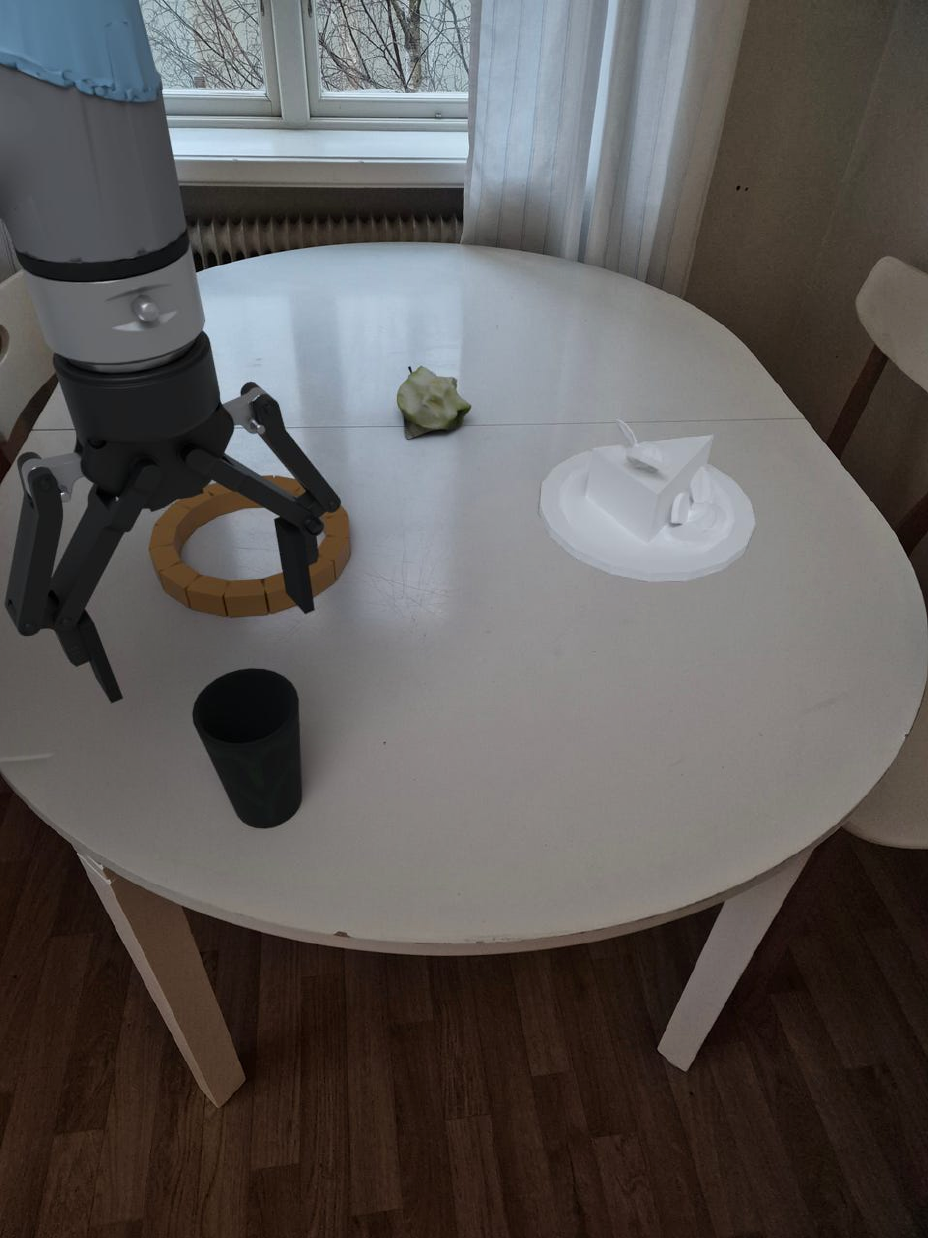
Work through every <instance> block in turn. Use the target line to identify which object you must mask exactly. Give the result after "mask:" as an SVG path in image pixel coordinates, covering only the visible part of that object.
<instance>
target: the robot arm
mask: <svg viewBox="0 0 928 1238" xmlns="http://www.w3.org/2000/svg"><path fill="white" fill-rule="evenodd" d="M161 75H162V74H160V72H159V71H158V70H157V68H156V64H155V61H154V56H153V53H152V48H151V44H150V40H149V36H148V31H147V28H146V23H145V20H144V16H143V11H142V8H141V4H140V0H0V219H1V220H2V222H3V224H4V226H5V228H6V230H7V232H8V234H9V237H10V239H11V244H12V247H13V250H14V253H15V255H16V259H17V261H18V263H19V265H20V269H21V271H22V274H23V277H24V280H25V283H26V287H27V290H28V293H29V296H30V299H31V302H32V305H33V308H34V311H35V314H36V317H37V320H38V325H39V327H40V330H41V333H42V335H43V340H44V342H45V345H46V346H48V348H49V349H50V350H51V351H52V352H53V354H52V355H53V356H52V365H53V368H54V371H55V374H56V377H57V380H58V383H59V386H60V389H61V392H62V395H63V398H64V401H65V404H66V407H67V410H68V413H69V416H70V419H71V422H72V425H73V429H74V432H75V445H74V448H73V452H69V453H64V454H60V455H56V456H55V455H54V456H50V457H45V458H43V457H41V456H40V454H38V453H37V452H34V451H26V452H24V453H21V455H19V456H18V458H17V460H16V466H17V470H18V474H19V478H20V482H21V486H22V490H23V498H22V502H21V503H22V504H21V509H20V515H19V521H18V525H17V532H16V536H15V544H14V548H13V554H12V560H11V565H10V571H9V577H8V582H7V587H6V593H5V600H4V608H5V610H6V612H7V614H8V615H9V617H10V619H11V621H12V623H13V624H14V627H15V628H16V630H17V632H18V633H19V635H21V636H23V637H32V636H35V635H38V633H39V632H40V631H41V630H46V629H47V630H52V631H54V633H55V636H56V638H57V640H58V642H59V645H60V647H61V649H62V651H63V653H64V654H65V656H66V658H67V659H68V661H69V663H70V664H71V665H73V666H74V667H76V668H77V667H79V666H83V665H85V664H87V663H89V665H90V668H91V670H92V673H93V675H94V677H95V679H96V681H97V683H98V684H99V685H100V688H101V690H102V691H103V692H104V694H105V697H107V699H108V701H109V702H110V704H114V703H116V702H118V701H121V700H123V699H124V696H123V694H122V691H121V688H120V685H119V683H118V681H117V678H116V676H115V674H114V671H113V668H112V666H111V663H110V660H109V658H108V654H107V653H106V650H105V648H104V644H103V643H102V640H101V637H100V634H99V632H98V629H97V627H96V623H95V622H94V621H93V619H92V617H91V616H90V614H89V612H88V611H87V610H86V607H87V605H88V604H89V601H90V600H91V597H92V596H93V594H94V592H95V590H96V589H97V586H98V584H99V582H100V581H101V578H102V577H103V575H104V573H105V571H106V569H107V567H108V565H109V563H110V561H111V560H112V557H113V555H114V554H115V552H116V549H117V547H118V546H119V543H120V542H121V539H122V538H123V536H124V534H125V533H130V532H131V531H132V530H133V528H134V527H135V524H136V522H137V521H138V519H139V517H140V515H141V513H142V510H149V511H150V512H151V513H154V512H157V511H158V510H161V509H165V508H166V507H168V506H170V505H172V504H174V503H175V502H176V501H178V500H180V499H185V498H192V497H195V496H197V495H200V494H203V493H204V492H203V489H205V487H206V486H207V485H210V483H211V482H212V481H213V482H214V483H219V484H220V485H222V486H224V487H226V488H227V489H229V490H231V491H233V492H238V493H239V494H241V495H243V496H245V497H246V498H248V499H250V500H252V501H253V502H255V503H257V504H259V505H260V506H262V507H261V508H264V509H266V510H267V511H269V512H271V513H273V514H275V515H276V516H278V517H276V518H273V523H274V529H275V534H276V535H275V536H276V542H277V546H278V551H279V560H280V565H281V570H282V571H281V572H283V577H284V583H285V589H286V593H287V595H288V596H289V597H290V598H291V599H292V600H293V601H294V602H295V603H296V606H297V607H298V608H299V609H300V610H301V612H302V613H303V614H304V615H307V614H309V613H312V612H314V611H315V601H314V598H313V593H312V586H311V579H310V571H309V566H310V565H312V564H314V563H316V562H317V561H318V557H319V551H318V547H319V545H318V536H320V535H321V534H322V533H323V532H324V531H323V529H324V524H323V522H322V521H321V520H320V519H319V517H321V516H322V515H323V514H324V513H326V512H328V513H333V512H335V511H337V510H338V509H339V508H340V505H341V506H342V499H341V498H340V497H339V495H338V494H337V493H336V491H335V490H334V489H333V488H332V486H331V485H330V484H329V483H328V481H327V479H325V478H324V476H323V475H322V473H321V472H320V471H319V470H318V469H317V468H316V466H315V465H314V464H313V463H312V461H311V460H310V458H309V457H308V456H307V455H306V453H305V452H304V451H303V450H302V448H301V447H300V446H299V445H298V443H297V442H296V441H295V439H294V438H293V437H292V435H290V433H289V432H288V431H287V429H286V426H285V422H284V417H283V414H282V411H281V407H280V404H279V402H278V400H276V399H275V398H274V397H273V396H272V395H271V394H269V393H268V392H267V391H266V390H265V389H263V388H262V387H261V386H260V385H258V384H257V383H256V382H255V381H248V382H246V383H244V384H243V385H242V386H241V388H240V392H239V394H240V396H238V397H236V398H233V399H231V400H229V401H226V402H224V403H222V401H221V390H220V385H219V380H218V375H217V370H216V364H215V360H214V355H213V350H212V349H213V348H212V344H211V340H210V337H209V336H208V334H207V333H206V332H205V331H204V326H205V323H206V317H205V312H204V311H205V310H204V307H203V301H202V295H201V292H200V286H199V280H198V276H197V272H196V265H195V261H194V260H195V259H194V255H193V250H192V245H191V242H190V235H189V231H188V227H187V222H186V216H185V211H184V206H183V201H182V196H181V195H182V194H181V189H180V184H179V178H178V173H177V168H176V162H175V161H176V160H175V156H174V151H173V145H172V140H171V134H170V129H169V123H168V118H167V111H166V106H165V99H164V93H163V90H164V86H163V80H162V76H161ZM235 426H241V427H242V428H243V429H244V430H246V431H247V432H248V433H249V434H252V435H258V436H259V437H260V438H261V439H262V441H263V442H264V444H266V446H267V447H268V448H269V449H270V451H271V452H272V453H273V454H274V455H275V456H276V458H277V459H278V460H279V461H280V462H281V464H282V465H283V466H284V468H285V469H286V470H287V471H288V472H289V473H290V474H291V475H292V477H293V479H296V480H297V481H298V483H299V484H300V485H301V486H302V487H303V489H304V490H305V491H306V492H304V493H303V494H302V495H300V496H299V497H298V498H297V497H295V496H294V495H292V494H290V493H289V492H287V491H285V490H284V489H282V488H280V487H279V486H277V485H276V484H274V483H272V482H271V481H269V480H267V479H266V478H264V477H262V476H263V475H261V474H259V473H258V472H256V471H254V470H252V469H251V468H250V467H248V466H246V465H245V464H243V463H242V462H240V461H238V460H236V459H234V458H233V457H232V456H230V455H228V454H227V453H226V450H227V448H228V446H229V444H230V442H231V440H232V437H233V434H234V432H235ZM81 478H85V479H86V480H88V481H89V482H91V483H92V485H91V487H90V489H89V491H88V495H87V506H86V509H85V511H84V512H83V514H82V516H81V518H80V520H79V521H78V524H77V526H76V528H75V530H74V532H73V535H72V536H71V538H70V540H69V542H68V544H67V546H66V548H65V550H64V552H63V554H62V556H61V558H60V561H59V562H58V564H57V566H56V568H55V570H54V567H55V562H56V557H57V553H58V548H59V543H60V538H61V533H62V528H63V523H64V522H63V521H64V505H63V503H68V502H70V500H71V498H72V494H73V489H74V488H73V487H74V485H75V483H76V482H77V481H78V480H79V479H81Z"/></svg>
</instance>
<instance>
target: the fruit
mask: <svg viewBox="0 0 928 1238" xmlns="http://www.w3.org/2000/svg"><path fill="white" fill-rule="evenodd" d="M407 369H408V371H409V374H408V375H407V378H406V380H405V381H404V382H403V383H402V384H401V385H399V388H398V390H397V393H396V404H397V407H398V409H399V411H400V412H401V414H402V418H403V430H404V431H403V432H404V433H403V434H404V438H405V440H408V441H409V440H411V439H413V438H415V437H418V436H421V435H423V434H426V433H428V432H431V431H437V430H446V431H450V430H453V429H457V428H460V427H461V426H462V425H463V423H464V418H465V416H466V415H468V413H470V411H471V410H472V404H470V403H468V401H466V400H465V399H463V398H462V397H461V395H460V394H459V393H458V390H457V388H458V379H457V378H455V377H453V376H439V375H438V376H437V374H436V372H434V371H431V370H430V369H428V367H426V366H423V365H420V366H419V367H417V369H416V370H414V371H413V370H412V366H411V365H409V366H407Z"/></svg>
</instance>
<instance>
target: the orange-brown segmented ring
mask: <svg viewBox="0 0 928 1238" xmlns="http://www.w3.org/2000/svg"><path fill="white" fill-rule="evenodd" d="M261 476H262V477H264V478H266V479H267V480H269V481H271V482H272V483H274V484H276V485H277V486H279V487H280V488H282V489H284V490H285V491H287V492H289V493H290V494H292V495H294V496H295V497H297V498H298V497H299V496H300V495H302V494H303V493H304V492H306V491H305V490H304V489H303V487H302V486H301V485H300V484H299V483H298V481H297V480H296V479H295V478H294V477H293V478H292V477H288V476H282V475H277V474H276V475H273V474H268V475H267V474H265V475H261ZM203 492H204V493H203V494H200V495H197V496H195V497H192V498H185V499H178V500H176V501H174V503H171V504H170V505H169V507H168V508H167V509H166V510H165V511H164V512H163V513H162V515H161V516H160V517H159V518H158V519H157V520H156V521H155V523H154V525H153V526H152V531H151V535H150V539H149V542H148V543H149V544H148V553H149V557H150V560H151V563H152V568H153V570H154V572H155V573H156V574H155V575H156V577H157V579H158V581H159V583H160V585H161V587H162V589H163V590H162V591H164V592H165V593H166V594H167V595H169V596H170V597H172V598H173V599H175V601H178V602H179V603H181V604H182V605H184V606H185V607H187V608H188V609H191V610H193V611H197V612H201V613H207V614H210V615H215V616H220V617H224V618H227V617H228V618H240V617H241V618H242V617H253V616H254V617H255V616H268V615H269V614H270V615H273V614H275V613H279V612H281V611H284V610H288V609H290V608H293V607H296V606H297V605H296V603H295V602H294V601H293V600H292V599H291V598H290V597H289V596H288V595H287V593H286V589H285V583H284V577H283V571H281V572H279V573H275V574H272V575H270V576H266V577H263V578H252V579H249V578H248V579H233V580H231V579H230V580H229V579H223V578H219V577H215V576H210V575H204V574H201V573H199V572H198V571H196V570H195V569H193V568H192V567H191V566H189V565H188V564H186V563H185V562H183V561H182V560H181V558H180V557H181V551H182V548H183V547H182V546H184V544H185V543H186V542H187V541H188V540H189V538H190V537H191V535H193V533H194V532H195V531H196V530H197V529H198V528H200V527H201V526H203V525H205V524H207V523H209V522H210V521H211V520H214V519H216V518H217V517H219V516H222V515H226V514H230V513H233V512H237V511H240V510H244V509H253V508H255V509H256V508H257V509H258V508H263V507H262V506H260V505H259V504H257V503H255V502H253V501H252V500H250V499H248V498H246V497H245V496H243V495H241V494H239V493H238V492H233V491H231V490H229V489H227V488H226V487H224V486H222V485H220V484H219V483H217V482H214V483H211V484H210V483H209V484H208V485H207V486H206V487H205V488H204V489H203ZM319 519H320V520H321V521H322V522H323V524H324V529H323V531H322V532H323V534H325V536H324V538H323V540H322V541H321V542H320V544H319V545H318V551H319V557H318V561H317V562H316V563H314V564H312V565H310V566H309V571H310V579H311V586H312V593H313V599H314V598H315V597H317V596H318V595H320V594H321V593H322V592H324V591H325V590H326V589H328V588H329V587H331V586H332V585H333V584H335V583H336V581H338V579H339V577H340V575H341V574H342V572H343V571H344V569H345V567H346V565H347V564H348V563H349V561H350V559H351V555H352V554H351V553H352V552H351V551H352V550H351V531H350V530H351V529H350V520H349V515H348V512H347V511H346V510H345V508H344V506H342V504H341V505H340V508H339V509H338V510H337V511H335V512H333V513H328V512H326V513H324V514H323V515H322V516H321V517H319Z"/></svg>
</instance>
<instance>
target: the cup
mask: <svg viewBox="0 0 928 1238" xmlns="http://www.w3.org/2000/svg"><path fill="white" fill-rule="evenodd" d="M299 701H300V699H299V694H298V691H297V689H296V688H295V686H294V685H293V683H292V681H290V680H289V678H287V677H286V676H284V675H282V674H281V673H279V672H277V671H274V670H270V669H266V668H257V667H256V668H255V667H249V668H241V669H236V670H233V671H230V672H227V673H225V674H223V675H220V676H219V677H217V678H215V679H213V680H212V681H211V682H210V683H209V684H207V685H206V686H205V687H204V688H203V689H202V690H201V691H200V693H199V694H198V695H197V698H195V701H194V703H193V707H192V711H191V716H192V724H193V726H194V728H195V730H196V732H197V734H198V736H199V738H200V741H201V743H202V745H203V746H204V747H203V748H204V749H205V751H206V753H207V755H208V757H209V760H210V761H211V764H212V765H213V768H214V771H215V773H216V775H217V776H218V779H219V780H220V783H221V785H222V787H223V789H224V791H225V793H226V796H227V797H228V799H229V802H230V804H231V806H232V808H233V810H234V813H235V815H236V816H237V818H238V819H239V820H240V821H241V823H243V824H245V825H247V826H249V827H251V828H255V829H270V828H275V827H278V826H280V825H283V824H285V823H286V822H288V821H289V820H291V818H293V816H295V815H296V813H297V812H298V810H299V809H300V806H301V804H302V798H303V787H302V784H303V783H302V757H301V756H302V755H301V729H300V728H301V727H300V724H301V723H300V702H299Z"/></svg>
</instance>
